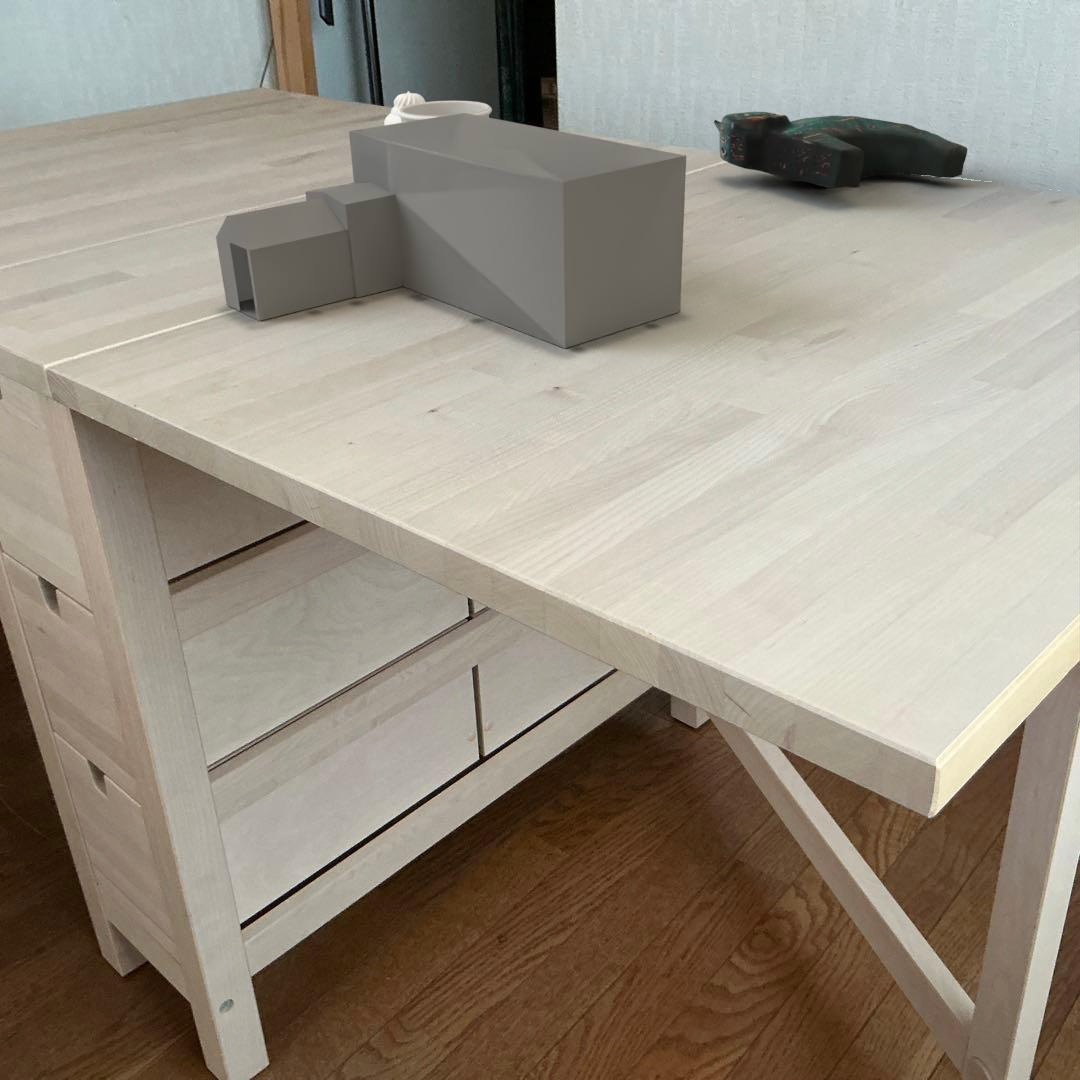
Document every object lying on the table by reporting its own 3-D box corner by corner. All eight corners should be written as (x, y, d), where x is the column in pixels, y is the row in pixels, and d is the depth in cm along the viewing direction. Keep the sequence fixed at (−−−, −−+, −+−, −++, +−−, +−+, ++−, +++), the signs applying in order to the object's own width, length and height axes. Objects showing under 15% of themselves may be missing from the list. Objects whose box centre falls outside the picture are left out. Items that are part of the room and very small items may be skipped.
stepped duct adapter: (224, 303, 87) (200, 154, 82) (470, 245, 100) (464, 112, 95) (413, 396, 70) (399, 216, 65) (680, 311, 83) (686, 155, 78)
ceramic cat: (830, 139, 103) (692, 101, 118) (818, 212, 107) (684, 166, 121) (978, 129, 113) (833, 95, 128) (962, 196, 116) (822, 156, 131)
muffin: (391, 149, 138) (385, 87, 134) (442, 148, 137) (438, 86, 134) (383, 160, 132) (377, 95, 129) (436, 159, 132) (432, 94, 128)
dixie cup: (462, 237, 102) (455, 118, 98) (388, 226, 106) (378, 112, 101) (513, 216, 109) (509, 103, 104) (441, 206, 112) (434, 98, 108)
